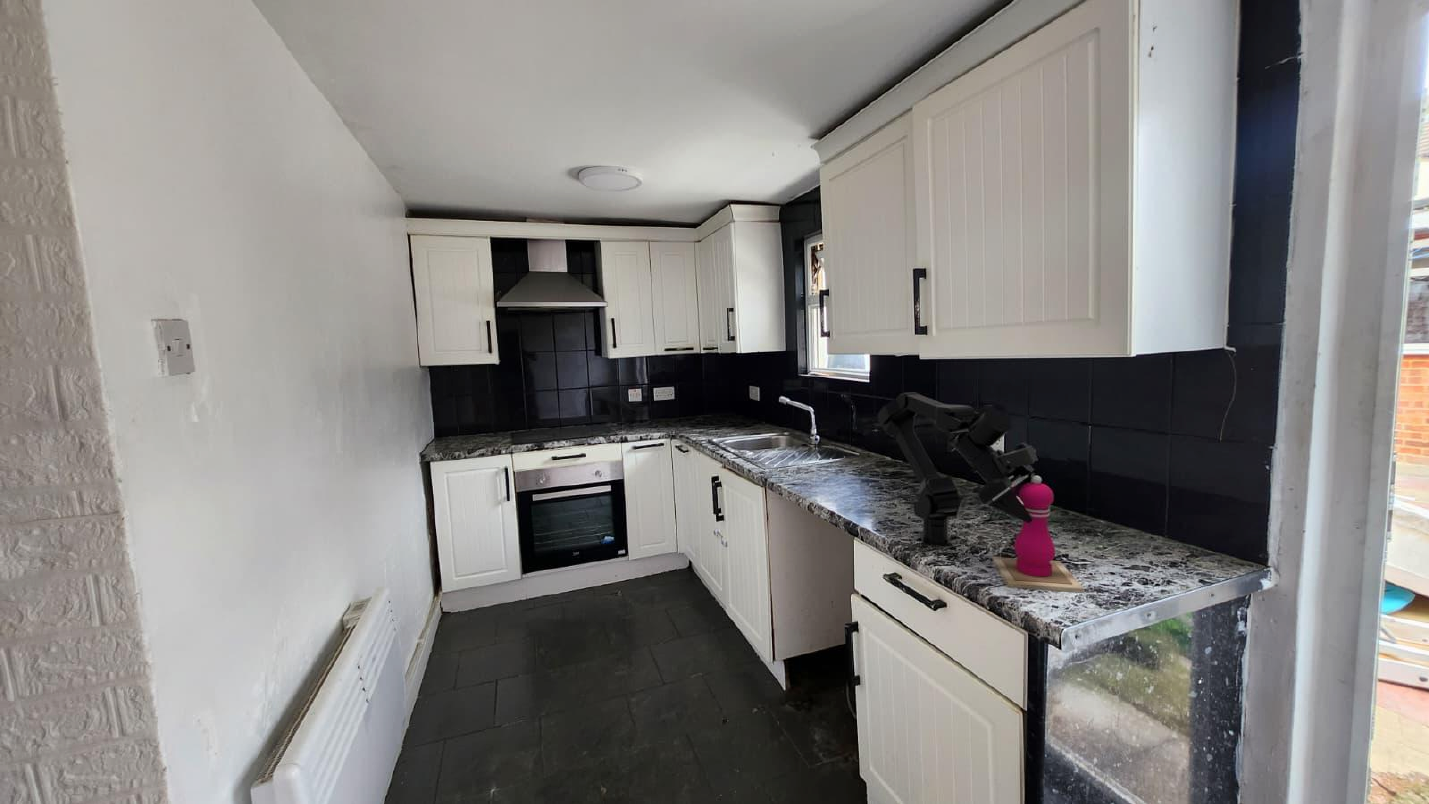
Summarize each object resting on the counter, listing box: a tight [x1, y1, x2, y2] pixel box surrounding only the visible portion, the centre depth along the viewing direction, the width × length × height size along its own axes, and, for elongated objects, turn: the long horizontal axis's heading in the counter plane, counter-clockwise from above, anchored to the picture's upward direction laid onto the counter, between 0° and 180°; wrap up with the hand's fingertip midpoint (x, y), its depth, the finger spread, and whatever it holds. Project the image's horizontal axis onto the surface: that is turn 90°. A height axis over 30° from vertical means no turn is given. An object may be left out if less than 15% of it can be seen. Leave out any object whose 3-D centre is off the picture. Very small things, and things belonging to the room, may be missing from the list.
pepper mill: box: [1013, 474, 1056, 577], centre depth 108 cm, size 7×7×20 cm
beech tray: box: [992, 556, 1085, 594], centre depth 109 cm, size 13×13×1 cm
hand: (1037, 515), depth 107 cm, fingers open, 9 cm apart
